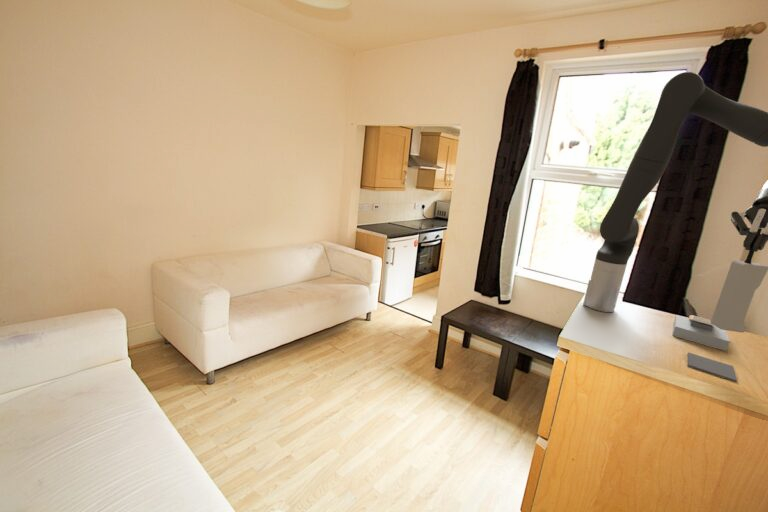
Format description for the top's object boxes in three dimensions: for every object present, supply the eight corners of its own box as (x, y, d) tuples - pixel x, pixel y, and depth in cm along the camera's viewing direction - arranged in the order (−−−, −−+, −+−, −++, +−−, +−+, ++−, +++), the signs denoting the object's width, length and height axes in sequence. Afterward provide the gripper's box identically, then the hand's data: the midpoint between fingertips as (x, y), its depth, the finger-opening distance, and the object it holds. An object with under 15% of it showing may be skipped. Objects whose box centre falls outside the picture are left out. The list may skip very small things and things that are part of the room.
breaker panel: (672, 335, 107) (676, 322, 106) (673, 323, 116) (677, 310, 115) (725, 350, 99) (731, 336, 98) (722, 336, 109) (726, 323, 108)
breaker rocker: (692, 319, 104) (693, 315, 103) (688, 318, 113) (689, 315, 113) (717, 325, 100) (719, 321, 100) (711, 324, 110) (713, 321, 110)
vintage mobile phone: (744, 333, 84) (783, 231, 78) (720, 329, 85) (756, 228, 79) (732, 326, 88) (769, 228, 81) (710, 323, 89) (744, 226, 82)
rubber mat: (687, 366, 89) (688, 364, 89) (687, 353, 96) (688, 352, 95) (736, 382, 83) (737, 380, 83) (732, 367, 90) (733, 366, 90)
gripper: (743, 181, 87) (713, 231, 83) (827, 186, 77) (797, 245, 73) (741, 202, 92) (712, 251, 88) (820, 210, 81) (792, 266, 77)
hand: (751, 248), depth 80 cm, fingers closed on vintage mobile phone, 1 cm apart
